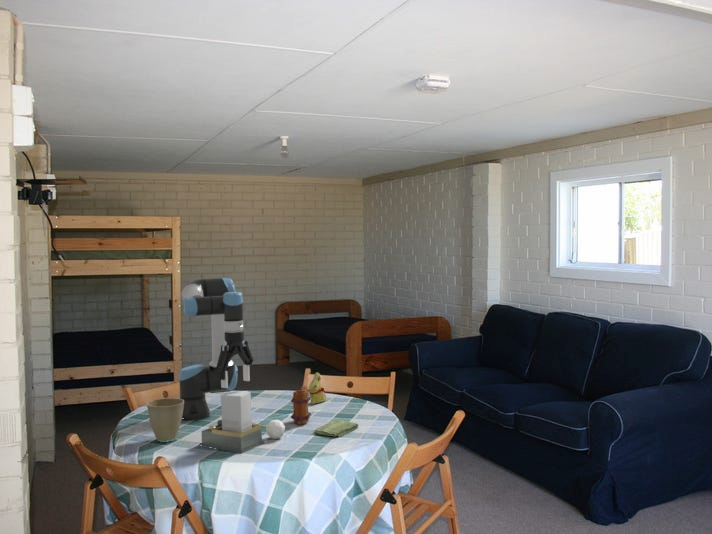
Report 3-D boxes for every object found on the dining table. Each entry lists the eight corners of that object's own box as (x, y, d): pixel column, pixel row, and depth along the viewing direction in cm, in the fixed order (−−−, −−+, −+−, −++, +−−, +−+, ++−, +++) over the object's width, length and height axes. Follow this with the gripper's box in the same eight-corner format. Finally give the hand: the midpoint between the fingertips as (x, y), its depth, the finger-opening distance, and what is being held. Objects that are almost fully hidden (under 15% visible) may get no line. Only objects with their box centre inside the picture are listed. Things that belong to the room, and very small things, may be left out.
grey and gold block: (199, 446, 273) (198, 426, 272) (223, 436, 285) (222, 417, 285) (241, 453, 262) (241, 432, 262) (264, 443, 275) (264, 423, 274)
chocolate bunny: (305, 404, 337) (305, 374, 337) (321, 399, 346) (320, 370, 345) (315, 406, 333) (314, 375, 332) (331, 401, 341) (330, 371, 340)
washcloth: (311, 435, 285) (311, 427, 285) (336, 425, 300) (336, 417, 300) (337, 439, 278) (337, 432, 278) (361, 429, 293) (360, 421, 293)
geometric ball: (274, 443, 283) (277, 425, 288) (287, 439, 278) (290, 421, 283) (260, 437, 279) (263, 419, 283) (273, 433, 274) (276, 415, 278)
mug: (307, 426, 298) (306, 392, 297) (289, 425, 299) (288, 391, 298) (315, 417, 312) (314, 384, 311) (298, 416, 314) (297, 384, 313)
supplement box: (252, 428, 275) (251, 391, 274) (241, 434, 266) (240, 396, 266) (233, 426, 278) (231, 389, 277) (221, 432, 269) (220, 395, 269)
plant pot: (165, 447, 272) (164, 408, 271) (140, 442, 280) (138, 404, 279) (193, 437, 285) (191, 400, 284) (168, 433, 293) (166, 396, 292)
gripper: (220, 336, 258) (222, 391, 259) (260, 327, 279) (262, 378, 280) (205, 335, 261) (207, 389, 262) (246, 326, 283) (248, 377, 284)
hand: (235, 384), depth 271 cm, fingers open, 13 cm apart
